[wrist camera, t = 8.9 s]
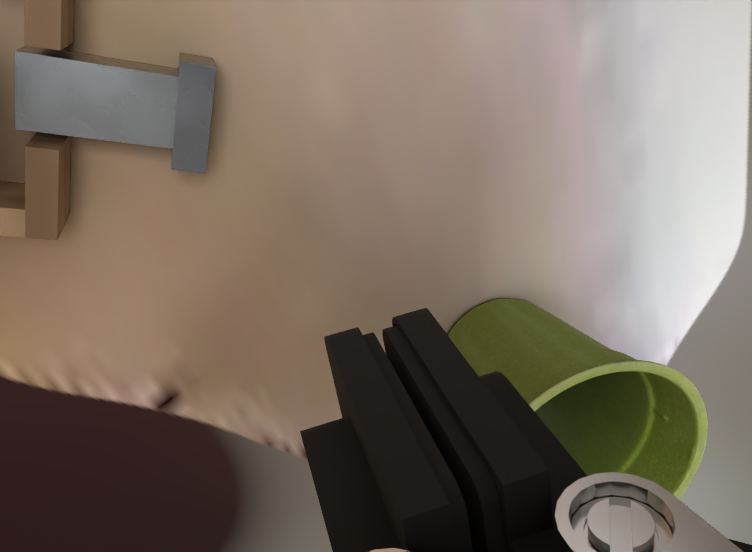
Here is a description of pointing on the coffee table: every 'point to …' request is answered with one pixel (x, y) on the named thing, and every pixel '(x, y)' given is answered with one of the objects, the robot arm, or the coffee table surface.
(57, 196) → the wooden tray
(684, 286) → the coffee table surface
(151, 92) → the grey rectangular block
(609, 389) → the plant pot
